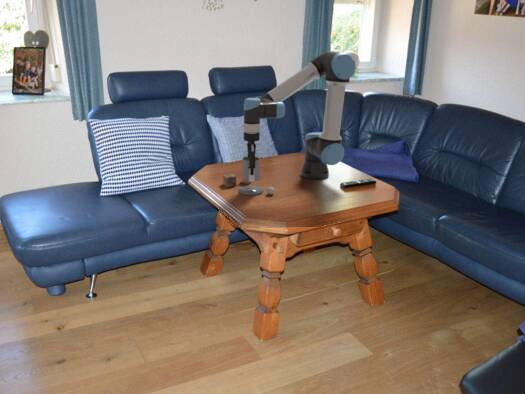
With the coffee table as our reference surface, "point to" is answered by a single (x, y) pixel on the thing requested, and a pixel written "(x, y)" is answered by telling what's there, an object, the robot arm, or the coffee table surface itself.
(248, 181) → the peach capsule shape
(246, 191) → the coaster
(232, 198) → the coffee table surface
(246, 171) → the cup
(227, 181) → the walnut block
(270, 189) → the grey ball
